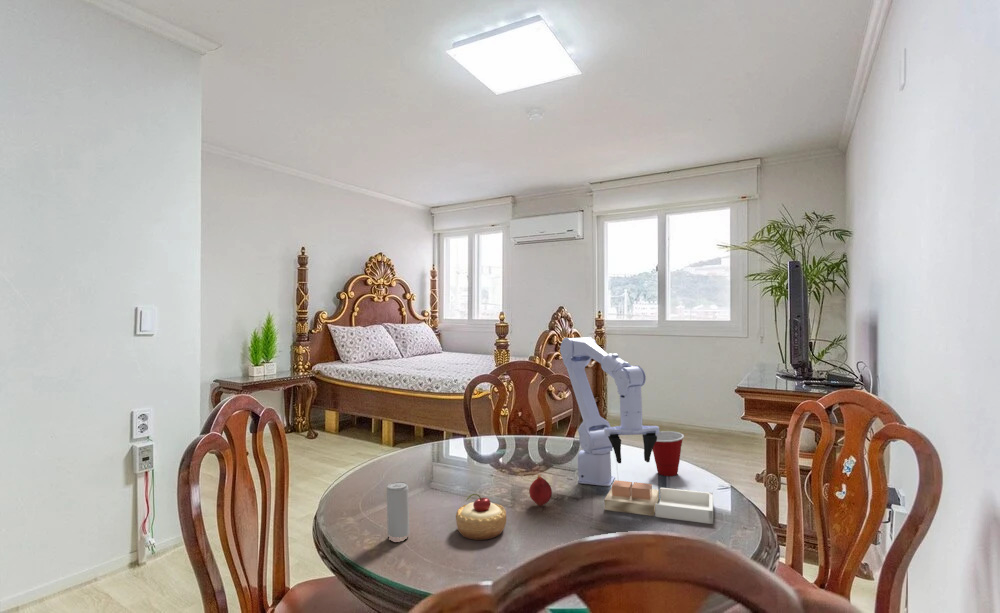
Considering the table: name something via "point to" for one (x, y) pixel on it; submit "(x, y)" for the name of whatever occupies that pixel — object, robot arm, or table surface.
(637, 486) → the tile
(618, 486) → the tile
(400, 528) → the beverage can
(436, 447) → the table surface
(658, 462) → the plastic cup
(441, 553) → the table surface
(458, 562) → the table surface
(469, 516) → the pastry
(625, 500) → the board
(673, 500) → the tray
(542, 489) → the onion
